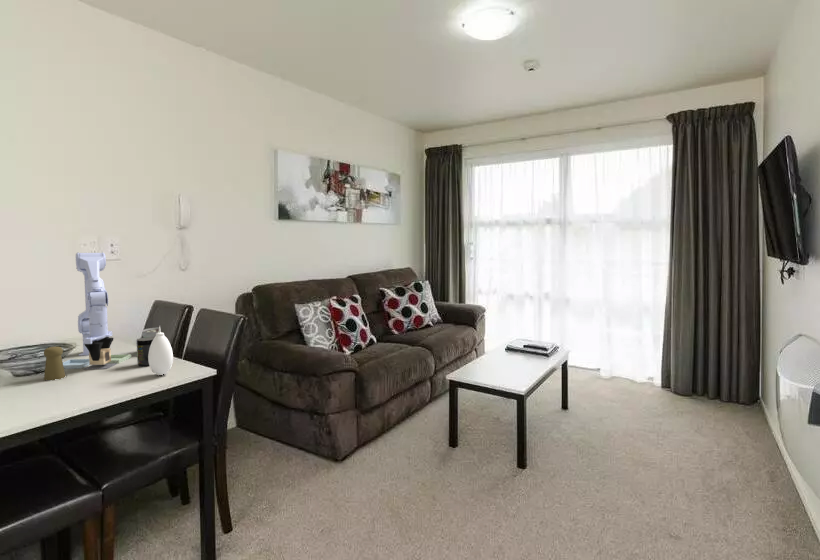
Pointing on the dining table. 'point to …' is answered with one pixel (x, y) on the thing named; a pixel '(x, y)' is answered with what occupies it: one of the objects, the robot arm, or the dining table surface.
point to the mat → (100, 366)
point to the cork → (53, 363)
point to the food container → (150, 332)
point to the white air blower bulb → (160, 354)
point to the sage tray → (119, 358)
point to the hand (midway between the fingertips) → (100, 358)
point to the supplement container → (143, 351)
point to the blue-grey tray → (76, 363)
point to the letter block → (102, 357)
